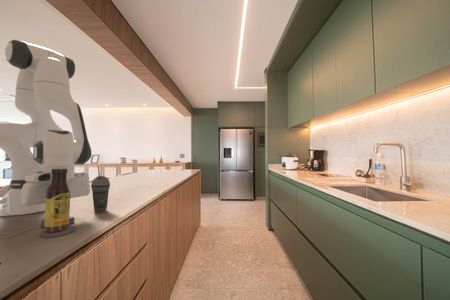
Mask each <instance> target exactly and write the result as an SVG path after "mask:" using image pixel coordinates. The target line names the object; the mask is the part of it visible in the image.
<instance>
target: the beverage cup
mask: <svg viewBox="0 0 450 300" xmlns="http://www.w3.org/2000/svg"><path fill="white" fill-rule="evenodd" d="M97 172H98V175H97V176H96V177H94V179H93V180H92V181H91V184H90V189H91V191H92V192H91V193H92V203H93V211H94V213H95V214H103V213H105V212H107V207H108V203H109V201H108V200H109V193H110V192H109V190H110V186H111V183H110V180H109V178H108V177H107V176H105V175H100V174H101V172H100V165H97Z"/></svg>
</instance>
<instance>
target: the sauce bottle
mask: <svg viewBox="0 0 450 300" xmlns="http://www.w3.org/2000/svg"><path fill="white" fill-rule="evenodd" d="M51 173H52V184H51V185H50V186H49V187H48V189H47V192H46V204H45V211H44V219H45V223H44V226H45V227H44V226H43V227H44V230H45V232H50V233H51V232H58V231H62V230H65V229H66V228H68V225H70V224H69V216H70V210H71V209H70V207H71V206H70V205H71V198H70V191H69V189H68V185H67V182H66V181H67V180H66V174H67V169H52V172H51Z"/></svg>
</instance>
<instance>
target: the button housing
mask: <svg viewBox="0 0 450 300" xmlns="http://www.w3.org/2000/svg"><path fill="white" fill-rule="evenodd" d="M44 223H45V218H44V219H43V218H42V219H41V220H40V226H41V227H43V228H45V226H44ZM74 223H75V217H74V216H71V215H69V224H68V225H70V224H74Z"/></svg>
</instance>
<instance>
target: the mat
mask: <svg viewBox="0 0 450 300" xmlns="http://www.w3.org/2000/svg"><path fill="white" fill-rule="evenodd" d="M76 230H77V227H76V225H70V224H68V228H66V229H65V230H62V231H58V232H51V233H50V232H45V229H44V230H42V231H41V232H40V233H39V235H40V237H41V238H44V239H47V238H51V239H52V238H57V237H58V238H59V237H62V236H67V235H68V234H71V233H74V232H75V231H76Z"/></svg>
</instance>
